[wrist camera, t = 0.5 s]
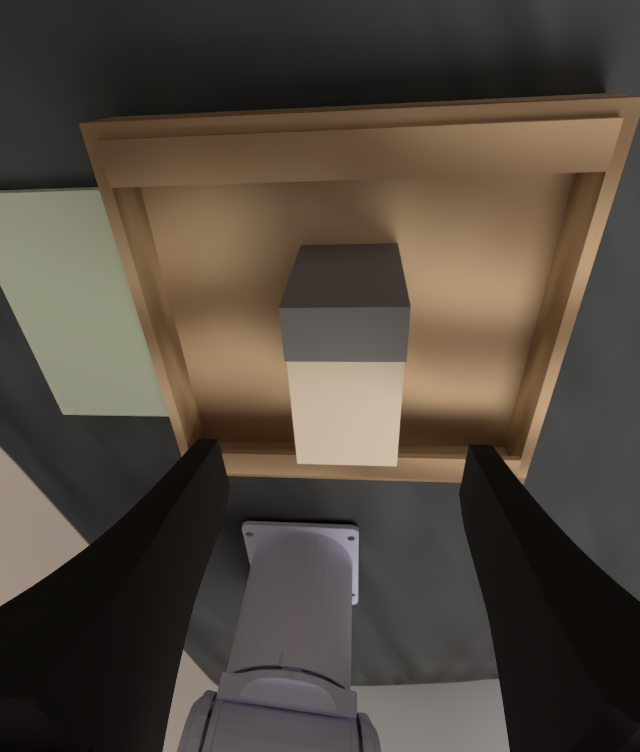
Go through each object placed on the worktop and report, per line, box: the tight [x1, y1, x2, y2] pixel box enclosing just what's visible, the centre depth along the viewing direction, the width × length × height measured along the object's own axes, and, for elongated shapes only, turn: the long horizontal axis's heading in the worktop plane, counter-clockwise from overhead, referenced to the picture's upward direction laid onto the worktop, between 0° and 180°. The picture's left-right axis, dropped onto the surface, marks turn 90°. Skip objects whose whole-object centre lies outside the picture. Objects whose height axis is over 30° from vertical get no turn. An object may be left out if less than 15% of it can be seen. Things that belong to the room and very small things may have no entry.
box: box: [279, 243, 411, 466], centre depth 18 cm, size 7×4×6 cm, turn 3°
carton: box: [79, 93, 640, 484], centre depth 20 cm, size 17×18×3 cm
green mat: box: [0, 187, 169, 416], centre depth 22 cm, size 12×7×1 cm, turn 3°
